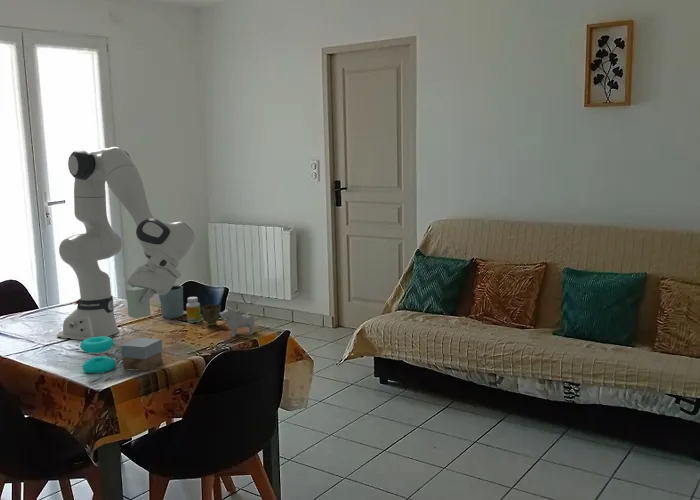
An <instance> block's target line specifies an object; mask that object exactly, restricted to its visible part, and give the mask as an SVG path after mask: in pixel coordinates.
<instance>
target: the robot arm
mask: <svg viewBox="0 0 700 500" xmlns="http://www.w3.org/2000/svg"><path fill="white" fill-rule="evenodd" d="M67 164H68V165H67V166H68V170H69V173H70V174H71V176H72V178H74V184H73V203H74V204H73V205H74V206H73V207H74V209H73V210H74V216H75V218H76V220H78V221H79V222H81V223H82V224H83V225H84V227H85V233H80V234H79V233H78V234H73V235H72V236H71V235H70V236H69V237H67V238H65V239H63V240H62V241H61V242H60V244H59V247H58V252H59V253H58V254H59V257H60V259H61V260H63V262H64V263H65V264H67V265H69V266H70V267H71V269H72V270H73V271H74V273H75V275H76V278H77V282H78V288H79V295H80V298H79V299H77V300H75V301H74V302H73V303H74V306H75V305H77V307H76V309H75V310H73V311H72V312H71V313H70V314H69V315H68V316H67V317H65V319H64V320H63V325H62V330H60V331H59V332H58V333H57V334H56V338H57V337H62V338H61V339H66V338H70V339H69V340H79V341H84V340H85V339H88V338H92V337H98V336H106V337H111V336H113V335H116V334H118V333H119V332H120V330H119V327H118V324H117V321H116V317H115V312H114V310H115V309H114V297H113V295H112V290H111V289H112V287H111V278H110V275H109V274H108V273H107V272H105V271H103V270H101V268H100V266H99V263H98V262H99V261H103V260H107V259H110V258H112V257H114V256H116V255H118V254H119V253H120V252H121V250H122V247H123V246H122V244H123V243H122V238H121V237H120V235H119V234H118V233H117V232H116V231H114V229H113V228H112V226H111V225H110V222H109V219H108V214H107V213H108V211H107V196H106V195H107V192H106V183H107V185H108V187H109V189H110V190H111V192H112V193H113V194H114V195H115V198H116V199H118V201H119V202H120V203H121V204H122V205H123V207H124V208H125V209H126V210H127V212H128V213H129V215H130V216H131V217H132V218H133V221H134V222H135V224H136V230H135V235H136V237H137V239H138V242H139V244H140V247H141V249H143V250H142V251H143V252H144V255H145V257H146V259H148V261H147V262H146V263H145V264H143V265H140V266H139V267H137V268H136V269H135V270H134V272H133V273H132V274H131V275H130V276H129V278H128V279H127V282H126V283H127V284H128V285H129V287H130V288H133V287H138V286H139V287H143V288H148V290H147V293H146V294H145V295H144V296H142V297H141V298H140V299H139V301H140V302H141V303H143V304H145V303H146V302H147V301H148V300H149V301H150V300H151V298H152V297H154V296H155V294H157V295H159V294H160V295H165V294H167V293H168V292H169V291H170V289H171V288H172V287H173V286H174V285H176V284H175V283H176V282H177V280H178V279H179V278H181V277H182V272H181V271H180V270H178V269H177V268H178V267H179V264H180V262H181V260H182V259H184V257H186V255H187V254H188V252H189V251H190V249H191V248H192V246H193V243H194V241H195V239H196V238H195V234H194V231H193V230H192V228H191V227H190V226H189V225H188V224H187V223H185V222H182V221H176V222H168V221H162V220H159V219H158V218H154V216H153V214H152V213H151V210H150V207H149V204H148V200H147V196H146V191H145V188H144V183H143V181H142V177H141V175H140V172H139V170H138V168H137V166H136V165H135V162H134V161H133V160H132V159H131V156H130V155H129V153H128V152H127V151H126V150H124V149H123V148H121V147H116V146H112V147H108V148H103V147H102V148H99V147H98V148H91V149H79V150H74V151H72V152H71V154H70V155H69V157H68V163H67Z"/></svg>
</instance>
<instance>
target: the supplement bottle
mask: <svg viewBox="0 0 700 500" xmlns="http://www.w3.org/2000/svg"><path fill="white" fill-rule="evenodd" d="M198 301H199V299H198V297H197V296H189V297H187V303H186V306H185V308H186V320H187V323H189V322H190V324H195V323H194V322H196V323H200V322H201V321H202V317H201V316H202V315H201V313H202V311H201V303H200V302H198Z"/></svg>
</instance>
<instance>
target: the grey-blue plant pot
mask: <svg viewBox="0 0 700 500" xmlns="http://www.w3.org/2000/svg"><path fill="white" fill-rule="evenodd" d="M158 298H159V302H160V306H161V316H162V318H164V319H177V317H178V318H181V317H183V316H184V313H185V312H184V311H185V310H184V287H183V286H182V285H176V284H174V285H173V287H172V288H171V289H170V291H169V292H168V293H167V294H165V295H160V294H158ZM180 316H181V317H180Z"/></svg>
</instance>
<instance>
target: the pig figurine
mask: <svg viewBox="0 0 700 500" xmlns="http://www.w3.org/2000/svg"><path fill="white" fill-rule="evenodd" d="M225 308H226V309H224V310H223V311H220V313H219V314H220V318H221V319H223V320H226V321H225V324H226V325H227V327H228V328H230V329H231V332H230V334H231V337H236V335H237V330H238V328H248V331H247V332H248V333H249V335H250V336H251V335H253V334H254V327H255V323H256V318H255V317H254V314H253V313H252V312H247V313H246V314H242V310H241V309H236V310H234V309H233V308H231V307H229V306H226V307H225Z"/></svg>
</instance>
